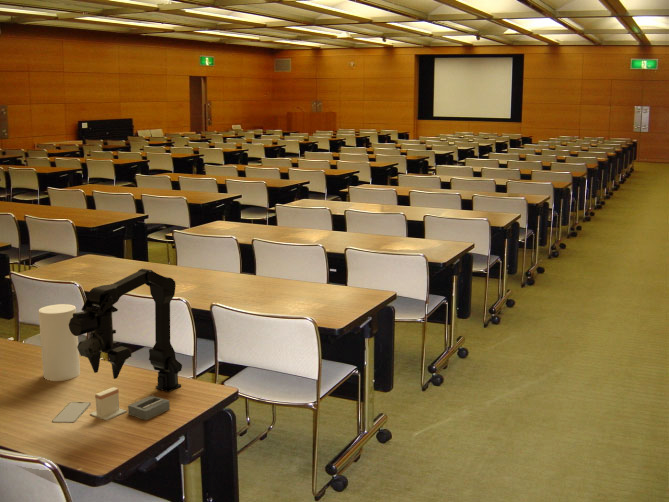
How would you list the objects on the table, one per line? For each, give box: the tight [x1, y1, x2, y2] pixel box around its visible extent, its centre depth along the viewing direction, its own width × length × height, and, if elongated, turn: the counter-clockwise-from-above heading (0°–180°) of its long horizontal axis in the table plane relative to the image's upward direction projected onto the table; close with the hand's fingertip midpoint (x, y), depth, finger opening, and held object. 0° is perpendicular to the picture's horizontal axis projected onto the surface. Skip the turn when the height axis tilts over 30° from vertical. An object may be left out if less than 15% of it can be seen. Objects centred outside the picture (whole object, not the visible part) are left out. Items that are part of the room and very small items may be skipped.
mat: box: [89, 407, 128, 422], centre depth 223 cm, size 8×8×1 cm
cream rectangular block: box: [94, 386, 120, 417], centre depth 223 cm, size 7×2×7 cm, turn 147°
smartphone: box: [51, 401, 92, 424], centre depth 224 cm, size 7×1×15 cm
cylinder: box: [38, 303, 81, 382], centre depth 254 cm, size 12×12×25 cm
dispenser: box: [127, 394, 171, 421], centre depth 224 cm, size 10×8×3 cm
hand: (105, 375), depth 221 cm, fingers open, 9 cm apart
